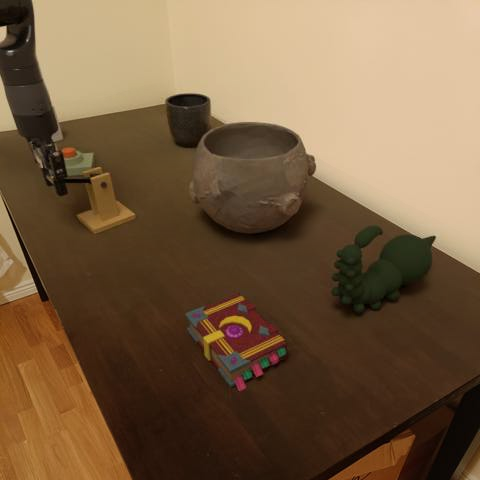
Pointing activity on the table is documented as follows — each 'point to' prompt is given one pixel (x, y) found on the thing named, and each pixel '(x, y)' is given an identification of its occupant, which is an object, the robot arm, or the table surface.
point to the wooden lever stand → (103, 204)
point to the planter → (188, 117)
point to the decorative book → (236, 339)
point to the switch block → (79, 163)
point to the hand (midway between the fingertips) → (57, 189)
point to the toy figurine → (380, 268)
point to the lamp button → (69, 152)
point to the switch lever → (74, 179)
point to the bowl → (250, 175)
